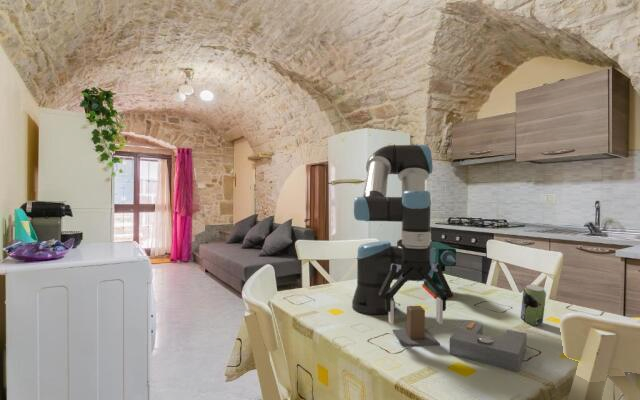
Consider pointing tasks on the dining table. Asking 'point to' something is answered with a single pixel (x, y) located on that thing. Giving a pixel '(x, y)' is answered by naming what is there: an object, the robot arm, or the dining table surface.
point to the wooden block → (415, 322)
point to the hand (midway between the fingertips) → (415, 322)
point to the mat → (406, 340)
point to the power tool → (444, 258)
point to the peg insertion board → (489, 346)
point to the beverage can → (533, 304)
